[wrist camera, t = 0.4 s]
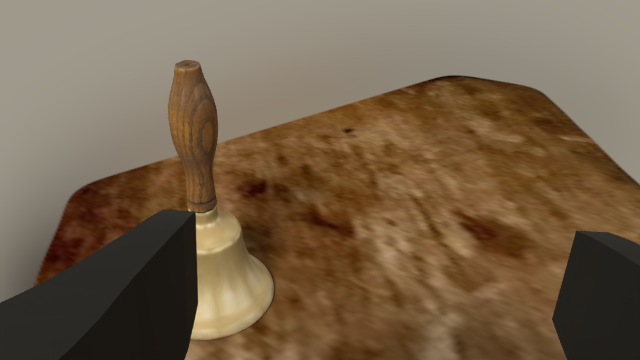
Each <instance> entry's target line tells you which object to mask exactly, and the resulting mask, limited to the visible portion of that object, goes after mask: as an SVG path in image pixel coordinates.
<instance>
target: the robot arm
mask: <svg viewBox="0 0 640 360" xmlns="http://www.w3.org/2000/svg"><path fill="white" fill-rule="evenodd" d="M197 307H198V276H197V241H196V211H177V210H162V211H160V212H158V213H156V214H154V215H153V216H151V217H149V218H148V219H146V220H145V221H143V222H142V223H140V224H139V225H137V226H136V227H134V228H133V229H131V230H130V231H128V232H127V233H125V234H123V235H122V236H120V237H119V238H117V239H116V240H114V241H113V242H111V243H109V244H108V245H106V246H105V247H103V248H102V249H100V250H99V251H97V252H95V253H94V254H92V255H90V256H89V257H87V258H85V259H83V260H82V261H80V262H78V263H76V264H75V265H73V266H71V267H69V268H68V269H66V270H64V271H62V272H61V273H59V274H57V275H56V276H54V277H52V278H50V279H48V280H47V281H45V282H43V283H41V284H39V285H37V286H35V287H33V288H31V289H29V290H27V291H25V292H23V293H21V294H19V295H16V296H14V297H12V298H10V299H8V300H5V301H3V302H1V303H0V360H184V359H185V357H186V354H187V351H188V348H189V343H190V339H191V335H192V330H193V326H194V321H195V316H196V312H197ZM552 320H553V323H554V326H555V329H556V331H557V334H558V337H559V340H560V343H561V345H562V348H563V350H564V353H565V355H566V357H567V360H640V245H639V244H637V243H635V242H632V241H630V240H628V239H625V238H623V237H620V236H617V235H614V234H611V233H608V232H590V231H576V234H575V238H574V241H573V245H572V249H571V252H570V256H569V259H568V263H567V267H566V270H565V274H564V278H563V281H562V285H561V289H560V292H559V296H558V300H557V303H556V307H555V311H554V314H553V318H552Z"/></svg>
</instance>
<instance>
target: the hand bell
mask: <svg viewBox="0 0 640 360" xmlns="http://www.w3.org/2000/svg"><path fill="white" fill-rule="evenodd" d="M168 118H169V125H170V131H171V136H172V140H173V143H174V146H175V148H176V151H177V153H178V155H179V157H180V159H181V161H182V163H183V166H184V169H185V174H186V185H187V197H188V200H187V205H188V211H196V241H197V276H198V307H197V312H196V316H195V321H194V326H193V330H192V335H191V339H194V340H209V339H217V338H221V337H226V336H230V335H233V334H235V333H238V332H240V331H242V330H244V329H246V328H248V327H249V326H251V325H252V324H254V323H255V322H256V321H257V320H259V319H260V318H261V317H262V316H263V314H264V313H265V312H266V311H267V309H268V308H269V306H270V304H271V302H272V299H273V296H274V283H273V279H272V276H271V274H270V273H269V271H268V270H267V268H266V267H265V266H264V264H263V263H261V262H260V261H259V260H258V259H257V258H255V257H254V256H252V255H250V254H249V253H248V251H247V249H246V246H245V242H244V239H243V234H242V229H241V226H240V223H239V221H238V220H237V219H236V218H235V217H234V216H233V215H232V214H230V213H228V212H226V211H223V210H218V209H217V206H216V204H217V199H216V195H215V186H214V180H213V173H212V165H213V158H214V154H215V151H216V146H217V137H218V120H217V110H216V105H215V102H214V99H213V96H212V94H211V91H210V89H209V87H208V84H207V82H206V80H205V78H204V75H203V73H202V69H201V66H200V63H199V62H196V61H192V60H185V61H181V62H179V63H176V64H175V70H174V79H173V83H172V88H171V92H170V97H169V104H168Z"/></svg>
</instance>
